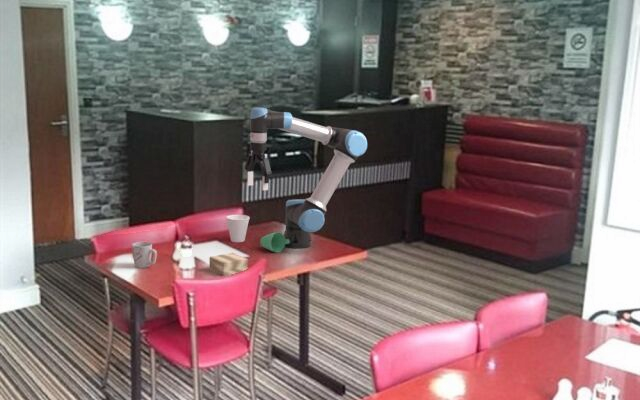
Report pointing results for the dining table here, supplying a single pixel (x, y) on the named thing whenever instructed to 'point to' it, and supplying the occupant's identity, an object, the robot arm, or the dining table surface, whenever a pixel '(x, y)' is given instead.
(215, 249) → the dining table surface
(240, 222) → the cup
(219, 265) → the beech block
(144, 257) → the mug
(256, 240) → the dining table surface
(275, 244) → the mug
